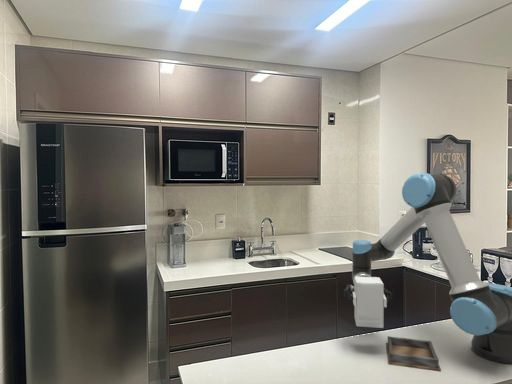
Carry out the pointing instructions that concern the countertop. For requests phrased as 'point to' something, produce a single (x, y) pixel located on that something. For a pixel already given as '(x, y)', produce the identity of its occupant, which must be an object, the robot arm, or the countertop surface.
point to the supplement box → (369, 302)
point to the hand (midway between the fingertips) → (370, 302)
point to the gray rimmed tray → (412, 353)
